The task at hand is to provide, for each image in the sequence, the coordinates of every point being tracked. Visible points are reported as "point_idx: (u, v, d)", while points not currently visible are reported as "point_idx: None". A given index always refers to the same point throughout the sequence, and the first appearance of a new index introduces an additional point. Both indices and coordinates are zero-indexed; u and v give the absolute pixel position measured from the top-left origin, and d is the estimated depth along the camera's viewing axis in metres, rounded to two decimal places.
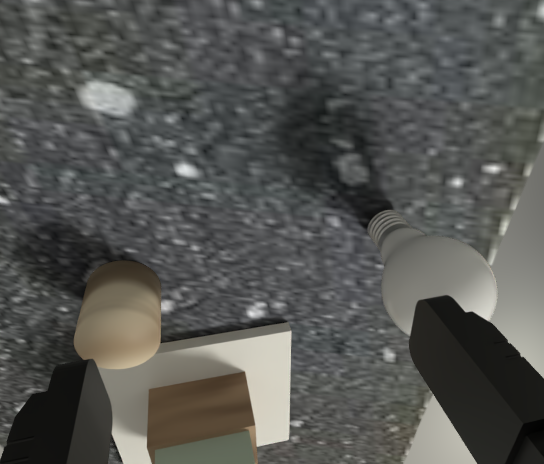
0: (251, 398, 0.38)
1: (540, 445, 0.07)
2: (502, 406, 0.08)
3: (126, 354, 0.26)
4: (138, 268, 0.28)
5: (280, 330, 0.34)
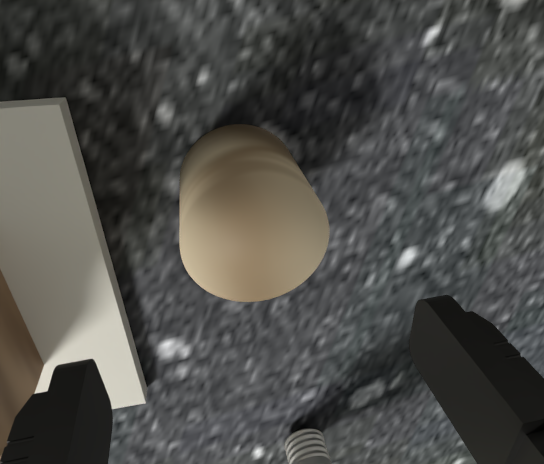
0: None
1: (540, 445, 0.07)
2: (502, 406, 0.08)
3: (220, 254, 0.14)
4: None
5: (143, 389, 0.22)
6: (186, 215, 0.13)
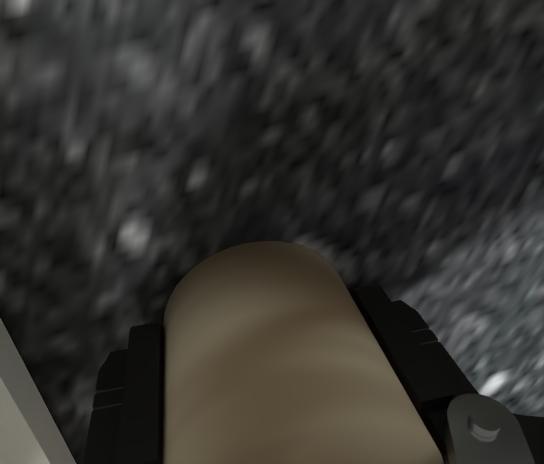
0: None
1: (438, 422, 0.08)
2: (408, 387, 0.08)
3: None
4: None
5: None
6: None
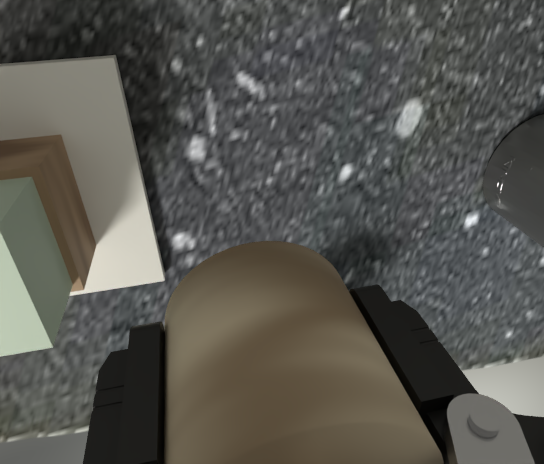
0: None
1: (437, 422, 0.08)
2: (408, 387, 0.08)
3: None
4: None
5: (162, 270, 0.32)
6: None
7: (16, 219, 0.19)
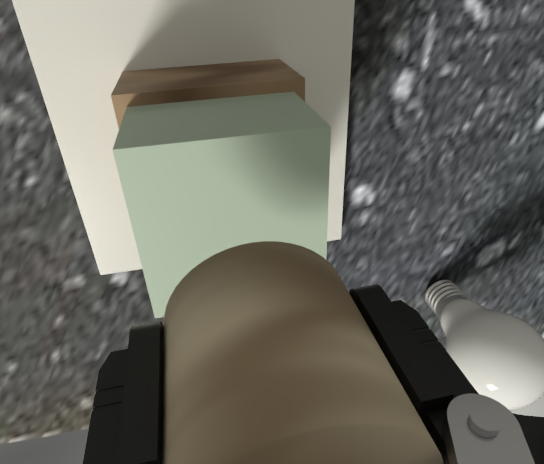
0: None
1: (437, 422, 0.08)
2: (408, 386, 0.08)
3: None
4: None
5: (340, 227, 0.29)
6: None
7: None
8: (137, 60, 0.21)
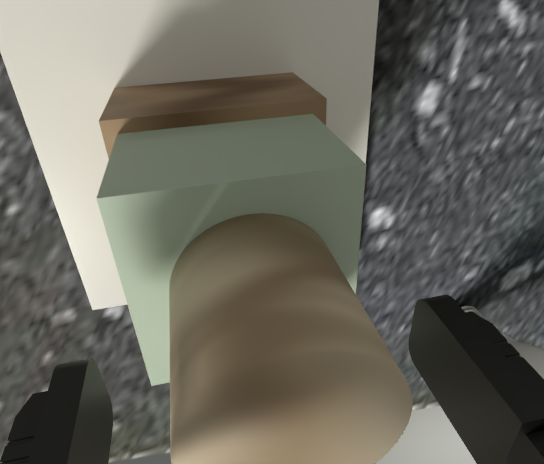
0: None
1: (539, 444, 0.07)
2: (502, 406, 0.08)
3: (238, 459, 0.08)
4: None
5: None
6: (181, 418, 0.08)
7: None
8: (131, 75, 0.18)
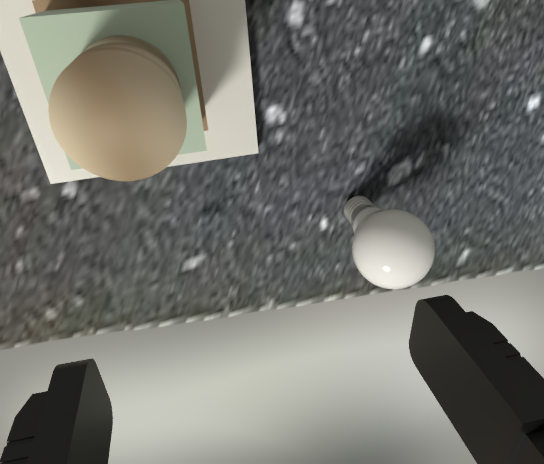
0: None
1: (540, 445, 0.07)
2: (502, 406, 0.08)
3: (89, 131, 0.16)
4: None
5: (257, 142, 0.34)
6: (51, 92, 0.15)
7: None
8: None
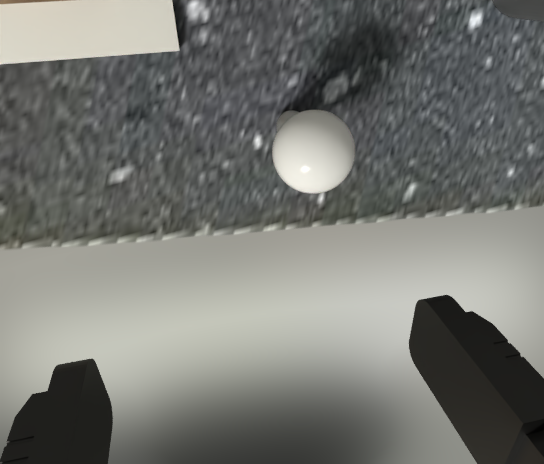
0: (59, 4, 0.30)
1: (540, 445, 0.07)
2: (502, 406, 0.08)
3: None
4: None
5: (177, 38, 0.33)
6: None
7: None
8: None
